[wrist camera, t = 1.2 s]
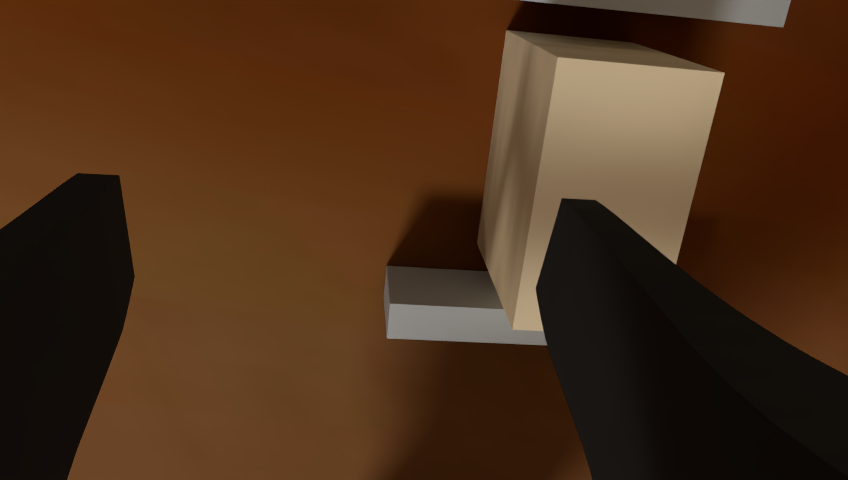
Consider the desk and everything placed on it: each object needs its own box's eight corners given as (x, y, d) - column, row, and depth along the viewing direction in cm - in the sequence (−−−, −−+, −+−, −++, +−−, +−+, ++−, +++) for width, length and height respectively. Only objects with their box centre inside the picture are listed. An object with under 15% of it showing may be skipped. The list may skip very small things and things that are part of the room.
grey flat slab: (659, 311, 26) (693, 351, 23) (383, 297, 24) (386, 338, 22) (743, -23, 21) (796, -20, 19) (415, -60, 20) (423, -61, 18)
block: (589, 249, 24) (657, 336, 19) (476, 242, 24) (512, 329, 18) (631, 42, 22) (724, 72, 16) (505, 29, 21) (558, 57, 16)
